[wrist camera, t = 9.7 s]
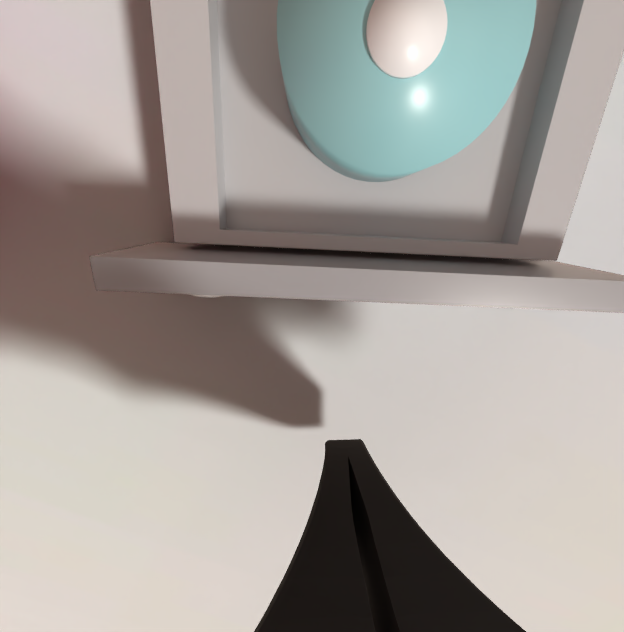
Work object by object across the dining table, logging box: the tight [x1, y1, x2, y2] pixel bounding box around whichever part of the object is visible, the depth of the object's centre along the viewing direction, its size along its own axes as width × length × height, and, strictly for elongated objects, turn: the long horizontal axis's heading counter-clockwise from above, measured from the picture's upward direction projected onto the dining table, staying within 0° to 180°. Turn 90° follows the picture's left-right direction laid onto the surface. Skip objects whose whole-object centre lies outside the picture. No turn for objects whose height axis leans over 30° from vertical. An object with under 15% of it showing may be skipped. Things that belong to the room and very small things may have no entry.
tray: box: [89, 0, 624, 313], centre depth 7 cm, size 14×14×3 cm
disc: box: [277, 0, 536, 182], centre depth 7 cm, size 5×5×2 cm
